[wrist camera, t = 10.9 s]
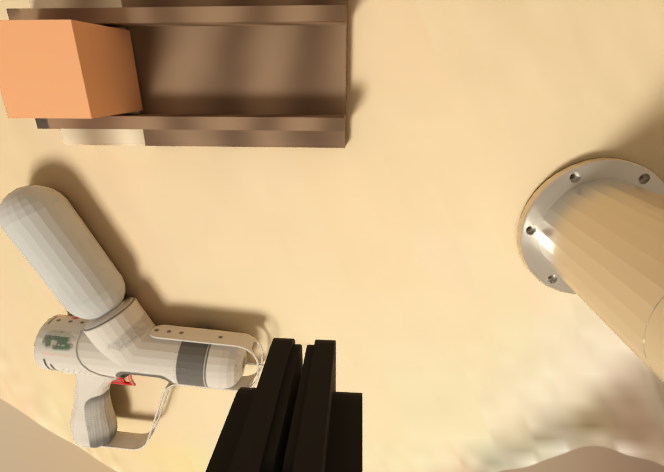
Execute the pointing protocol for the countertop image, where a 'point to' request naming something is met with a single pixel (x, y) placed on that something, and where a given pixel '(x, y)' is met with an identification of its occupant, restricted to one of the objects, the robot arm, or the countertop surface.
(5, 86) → the block
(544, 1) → the countertop surface
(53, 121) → the chute
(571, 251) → the robot arm
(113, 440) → the gun
